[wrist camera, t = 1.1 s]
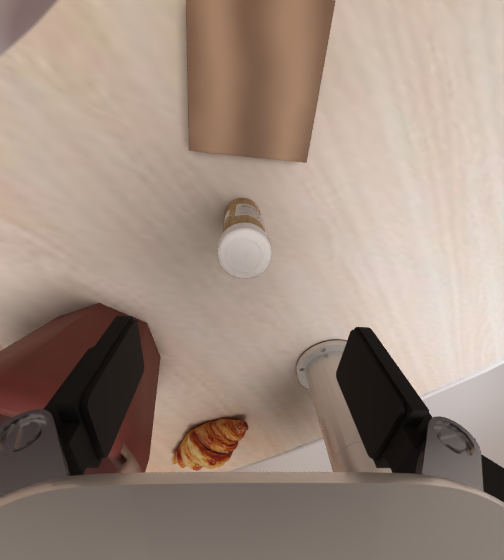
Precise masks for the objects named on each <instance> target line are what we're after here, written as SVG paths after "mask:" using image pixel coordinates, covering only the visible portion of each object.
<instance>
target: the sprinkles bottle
mask: <svg viewBox="0 0 504 560" xmlns="http://www.w3.org/2000/svg"><path fill="white" fill-rule="evenodd" d="M271 255H272V250H271V245H270V241H269V239H268V236H267V234H266V233H265V229H264V225H263V222H262V219H261V216H260V211H259V208H258V206H257V205H256V204H255V203H254V202H253V201H251V200H249V199H246V198H239V199H236V200H234V201H232V202H231V203H230V204H229V205H228V207H227V209H226V212H225V220H224V226H223V234H222V235H221V237H220V240H219V244H218V250H217V256H218V260H219V263H220V265H221V267H222V268H223V269H224V270H225V271H226V272H227V273H228V274H230V275H232V276H234V277H237V278H243V279H246V278H252V277H255V276H257V275H259V274H261V273H262V272H263V271H264V270H265V269H266V268H267V266H268V265H269V263H270V260H271Z"/></svg>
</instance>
